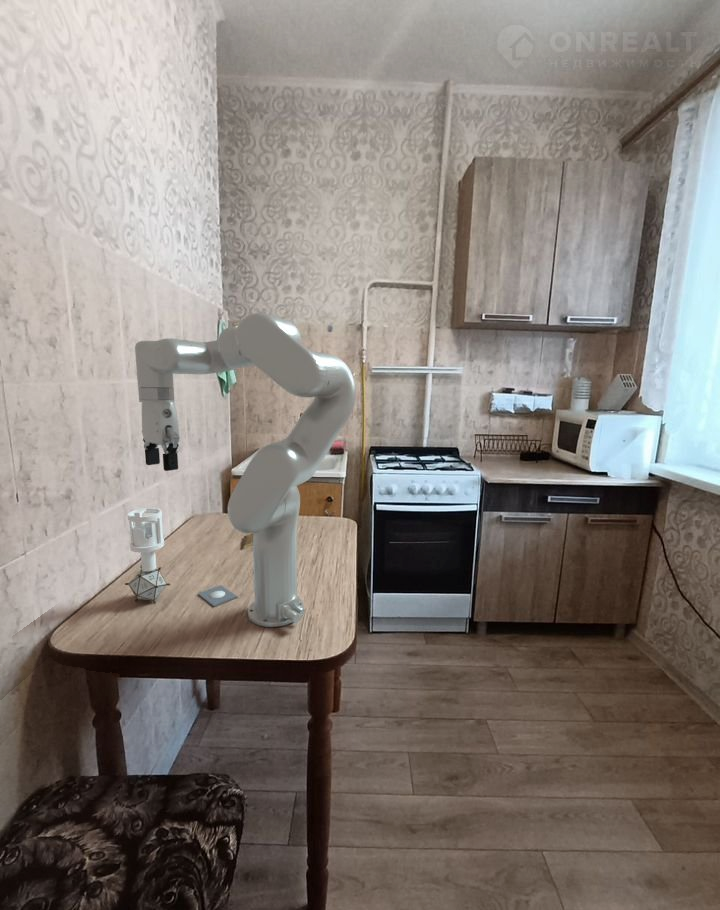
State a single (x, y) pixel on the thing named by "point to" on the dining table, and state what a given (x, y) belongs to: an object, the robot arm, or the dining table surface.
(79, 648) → the dining table surface
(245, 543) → the shard
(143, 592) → the game die
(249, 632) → the dining table surface
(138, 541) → the white cylindrical housing
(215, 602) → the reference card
